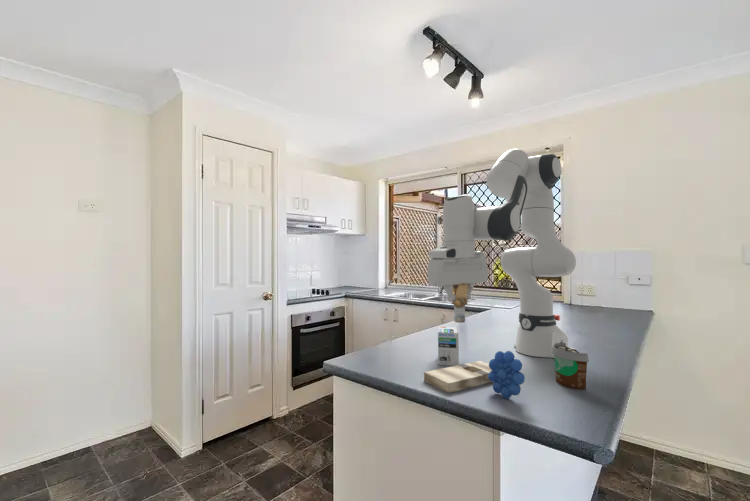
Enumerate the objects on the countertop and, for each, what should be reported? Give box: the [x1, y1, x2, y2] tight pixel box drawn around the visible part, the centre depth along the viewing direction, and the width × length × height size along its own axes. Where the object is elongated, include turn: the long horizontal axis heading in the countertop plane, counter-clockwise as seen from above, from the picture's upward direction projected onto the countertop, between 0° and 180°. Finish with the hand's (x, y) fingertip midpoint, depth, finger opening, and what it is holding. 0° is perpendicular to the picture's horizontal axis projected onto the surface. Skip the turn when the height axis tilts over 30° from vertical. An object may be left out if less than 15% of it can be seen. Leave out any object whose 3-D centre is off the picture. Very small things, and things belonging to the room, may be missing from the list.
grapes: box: [488, 350, 526, 399], centre depth 88 cm, size 12×7×12 cm, turn 22°
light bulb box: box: [437, 325, 460, 367], centre depth 118 cm, size 11×7×11 cm, turn 168°
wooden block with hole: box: [423, 360, 493, 394], centre depth 100 cm, size 22×10×3 cm, turn 120°
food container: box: [551, 343, 589, 391], centre depth 98 cm, size 12×6×10 cm, turn 178°
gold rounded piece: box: [451, 283, 468, 324], centre depth 100 cm, size 4×4×11 cm
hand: (459, 300), depth 100 cm, fingers closed on gold rounded piece, 4 cm apart
